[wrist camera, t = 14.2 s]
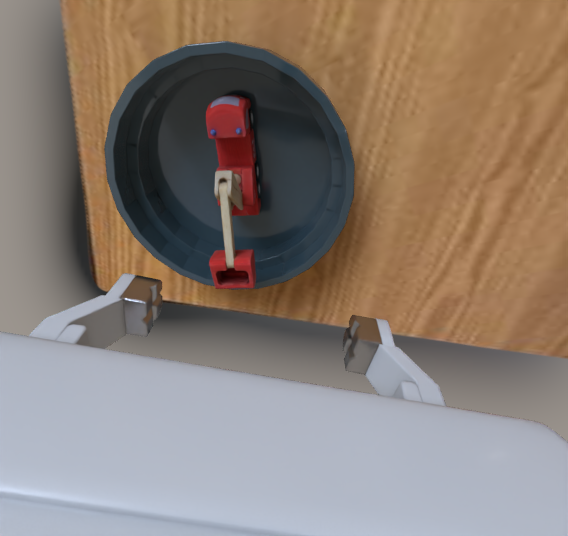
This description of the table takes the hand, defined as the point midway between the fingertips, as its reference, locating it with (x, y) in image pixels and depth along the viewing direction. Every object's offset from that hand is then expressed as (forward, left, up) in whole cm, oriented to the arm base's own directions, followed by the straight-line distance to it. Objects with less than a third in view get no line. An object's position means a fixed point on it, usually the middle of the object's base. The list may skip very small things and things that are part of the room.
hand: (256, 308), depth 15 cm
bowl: (+1, -4, -21) cm, 22 cm away
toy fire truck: (+1, -4, -21) cm, 21 cm away
